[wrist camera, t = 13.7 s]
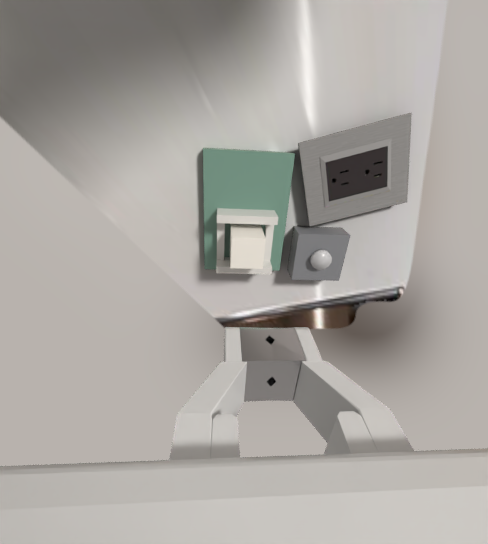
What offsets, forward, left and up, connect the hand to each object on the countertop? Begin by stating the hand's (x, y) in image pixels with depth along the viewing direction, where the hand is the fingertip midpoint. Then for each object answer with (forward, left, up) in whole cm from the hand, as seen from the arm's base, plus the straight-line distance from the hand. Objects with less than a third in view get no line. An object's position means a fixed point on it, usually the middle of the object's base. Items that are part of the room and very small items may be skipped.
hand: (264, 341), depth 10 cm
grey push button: (+9, +12, -29) cm, 33 cm away
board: (+4, +1, -29) cm, 29 cm away
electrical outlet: (-2, +15, -30) cm, 33 cm away
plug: (+7, +1, -27) cm, 28 cm away
